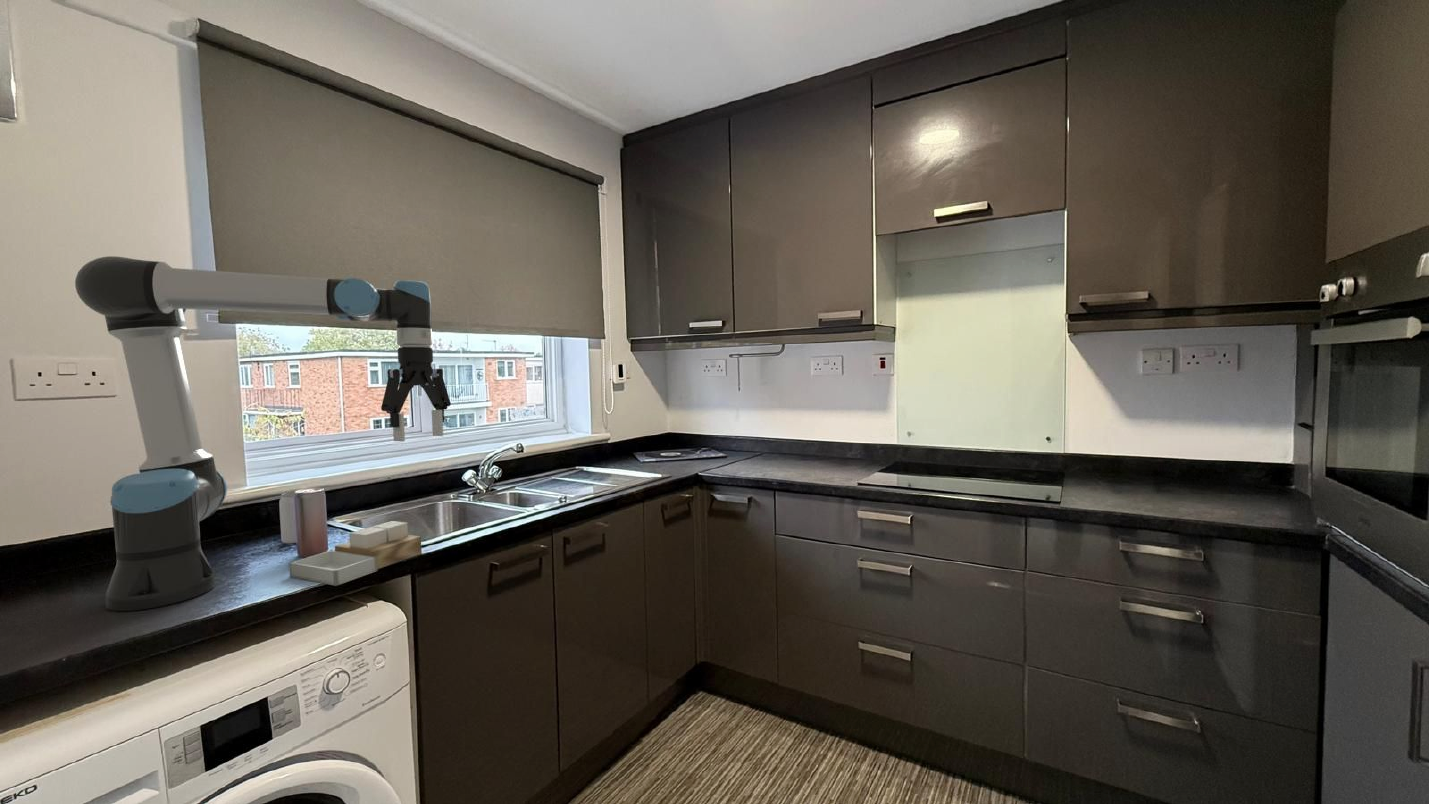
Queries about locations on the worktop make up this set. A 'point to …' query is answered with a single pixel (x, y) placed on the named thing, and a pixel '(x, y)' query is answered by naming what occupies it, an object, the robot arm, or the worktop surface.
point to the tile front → (368, 537)
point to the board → (388, 550)
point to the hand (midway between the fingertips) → (419, 438)
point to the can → (287, 518)
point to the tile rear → (394, 529)
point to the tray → (333, 567)
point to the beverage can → (311, 522)
